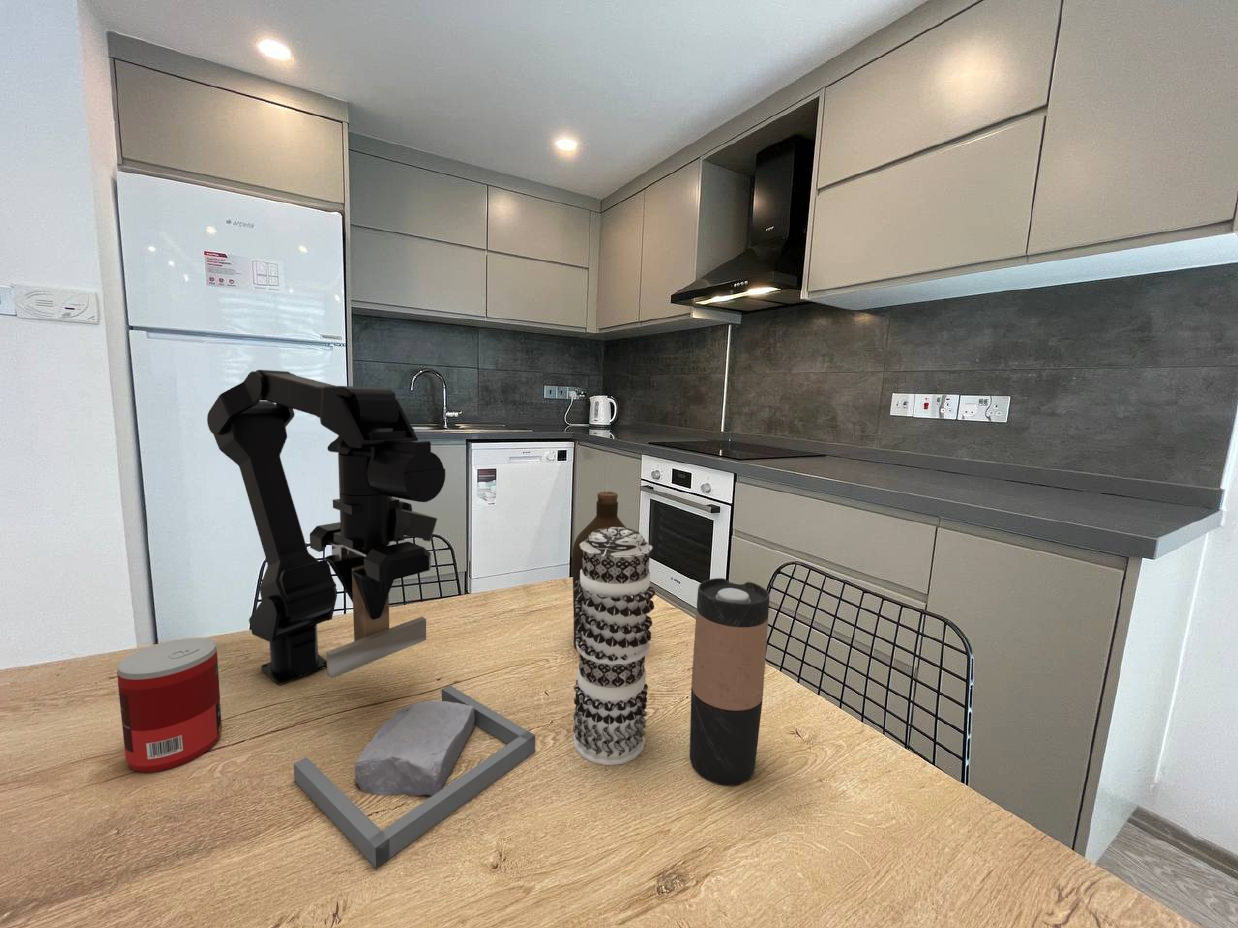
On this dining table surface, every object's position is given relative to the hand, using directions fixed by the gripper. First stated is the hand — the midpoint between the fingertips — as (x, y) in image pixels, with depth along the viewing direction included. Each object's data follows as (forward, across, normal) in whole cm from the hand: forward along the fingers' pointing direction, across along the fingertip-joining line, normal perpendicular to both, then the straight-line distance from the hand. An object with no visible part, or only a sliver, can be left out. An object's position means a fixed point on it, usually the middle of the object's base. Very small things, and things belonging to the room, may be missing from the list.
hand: (369, 614), depth 64 cm
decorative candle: (+12, -28, -14) cm, 33 cm away
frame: (+12, -14, +2) cm, 18 cm away
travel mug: (+12, -39, -20) cm, 46 cm away
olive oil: (+12, -12, -32) cm, 36 cm away
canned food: (+12, +8, +18) cm, 23 cm away
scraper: (+5, 0, 0) cm, 5 cm away
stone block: (+12, -13, +1) cm, 18 cm away
